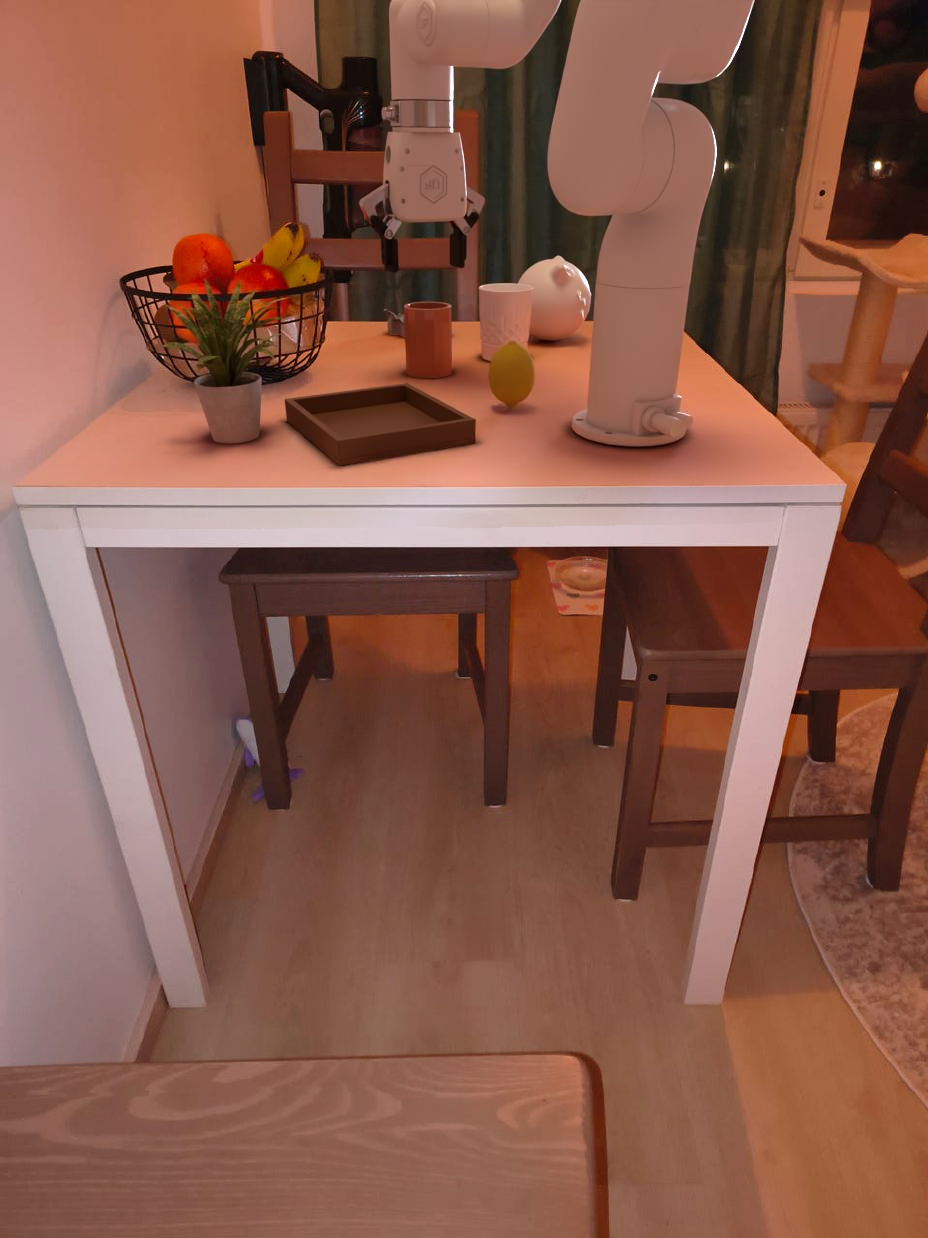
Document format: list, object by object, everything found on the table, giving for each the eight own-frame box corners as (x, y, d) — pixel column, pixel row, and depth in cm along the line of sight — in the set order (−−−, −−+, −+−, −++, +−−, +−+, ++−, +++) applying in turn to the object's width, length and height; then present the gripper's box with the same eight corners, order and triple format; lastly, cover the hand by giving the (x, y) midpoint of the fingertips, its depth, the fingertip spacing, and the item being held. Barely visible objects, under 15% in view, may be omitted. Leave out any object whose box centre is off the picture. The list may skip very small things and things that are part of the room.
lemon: (482, 412, 99) (482, 343, 95) (496, 400, 104) (497, 334, 100) (526, 416, 98) (528, 346, 94) (538, 404, 102) (541, 337, 98)
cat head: (508, 330, 143) (510, 253, 137) (584, 331, 142) (590, 253, 136) (507, 349, 130) (509, 264, 124) (591, 349, 129) (597, 265, 123)
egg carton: (381, 333, 141) (379, 308, 139) (414, 327, 145) (413, 303, 143) (422, 342, 134) (421, 316, 132) (455, 335, 139) (455, 310, 137)
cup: (459, 375, 115) (459, 307, 111) (418, 380, 113) (416, 311, 108) (439, 365, 120) (438, 300, 116) (399, 370, 118) (396, 303, 113)
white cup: (531, 352, 128) (533, 283, 123) (529, 364, 121) (532, 291, 116) (480, 351, 128) (480, 282, 123) (475, 363, 121) (476, 290, 116)
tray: (475, 442, 89) (475, 419, 88) (339, 466, 83) (337, 440, 82) (408, 403, 103) (407, 382, 101) (286, 420, 96) (284, 398, 95)
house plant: (287, 461, 84) (268, 290, 76) (153, 460, 84) (119, 290, 76) (312, 420, 96) (298, 270, 88) (195, 420, 97) (170, 270, 89)
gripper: (368, 117, 95) (375, 276, 104) (499, 119, 102) (495, 268, 111) (345, 117, 101) (353, 268, 109) (470, 119, 108) (468, 261, 116)
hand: (424, 268), depth 110 cm, fingers open, 9 cm apart
